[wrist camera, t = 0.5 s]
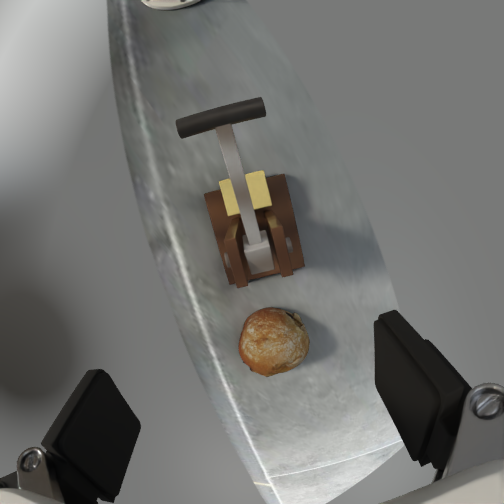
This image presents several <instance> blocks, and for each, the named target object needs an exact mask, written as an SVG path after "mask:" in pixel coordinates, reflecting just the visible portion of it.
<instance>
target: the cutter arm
mask: <svg viewBox="0 0 504 504" xmlns="http://www.w3.org/2000/svg"><path fill="white" fill-rule="evenodd" d="M265 116H266V110H265V106H264V102H263V100H262V98H261V97H259V98H254V99H250V100H245V101H241V102H237V103H233V104H229V105H225V106H221V107H217V108H214V109H210V110H207V111H203V112H200V113H197V114H193V115H190V116H187V117H184V118H181V119H177V120H176V127H177V131H178V134H179V136H180V138H181V139H183V138H186V137H189V136H192V135H196V134H199V133H203V132H206V131H209V130H213V129H215V130H216V133H217V136H218V140H219V143H220V146H221V150H222V153H223V157H224V160H225V163H226V167H227V170H228V174H229V177H230V180H231V184H232V187H233V190H234V194H235V197H236V201H237V204H238V207H239V211H240V214H241V218H242V221H243V224H244V228H245V231H246V234H247V235H243V236H242V239H243V246H244V253H245V256H246V259H247V262H248V265H249V268H250V272H251V274H252V275H253V274H257V273H261V272H265V271H270V270H274V269H275V266H274V261H273V257H272V253H271V249H270V245H269V241H268V237H267V233H266V230H263V231H259V227H258V223H257V219H256V216H255V212H254V208H253V204H252V200H251V196H250V193H249V189H248V185H247V181H246V177H245V174H244V170H243V166H242V162H241V159H240V155H239V151H238V147H237V144H236V140H235V136H234V133H233V129H232V124H236V123H240V122H244V121H248V120H252V119H256V118H261V117H265Z"/></svg>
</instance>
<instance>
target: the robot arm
mask: <svg viewBox="0 0 504 504" xmlns="http://www.w3.org/2000/svg"><path fill="white" fill-rule="evenodd" d="M141 1H142V2H143V3H144V4H145V5H147V6H149V7H151V8H154V9H160V10H172V9H179V8H183V7H186V6H189V5H192V4H195V3H197V2H199V1H201V0H141ZM374 344H375V385H376V388H377V391H378V393H379V395H380V396H381V398H382V400H383V402H384V404H385V406H386V408H387V410H388V412H389V414H390V416H391V418H392V420H393V422H394V424H395V426H396V428H397V430H398V432H399V434H400V436H401V438H402V440H403V442H404V444H405V446H406V448H407V450H408V452H409V455H410V457H411V458H412V460H413V461H417V460H418V461H419V463H420V465H421V467H422V466H424V465H426V464H428V463H430V462H431V463H432V465H433V467H434V468H435V469H437V470H436V472H435V475H434V478H433V480H432V483H431V484H429V485H427V486H425V487H422V488H419V489H417V490H414V491H412V492H409V493H407V494H405V495H402V496H399V497H396V498H394V499H392V500H388V501H386V502H383V503H380V504H504V387H503V386H501V385H499V384H495V383H484V384H481V385H478V386H476V387H474V388H473V389H472V388H471V387H470V386H469V384H468V383H467V382H466V381H465V380H464V379H463V377H462V376H461V375H460V374H459V373H458V372H457V370H456V369H455V368H454V367H453V366H452V365H451V364H450V363H449V362H448V360H447V359H446V358H445V357H444V356H443V355H442V354H441V352H440V351H439V350H438V349H437V348H436V347H435V346H434V345H433V344H432V343H431V342H430V341H429V340H426V339H425V340H424V339H423V338H422V337H421V336H420V335H419V334H418V333H417V332H416V331H415V330H414V328H413V327H412V326H411V325H410V324H409V323H408V322H407V321H406V320H405V319H404V318H403V317H402V316H401V314H400V313H399V312H398V311H396V310H392V311H390V312H387V313H383V314H380V315H379V317H378V320H376V321H374ZM140 429H141V425H140V421H139V420H138V418H137V417H136V416H135V414H134V413H133V411H132V410H131V408H130V407H129V405H128V404H127V402H126V401H125V399H124V398H123V396H122V395H121V393H120V392H119V390H118V388H117V387H116V385H115V384H114V382H113V380H112V379H111V377H110V376H109V374H108V373H106V372H105V371H104V370H102V369H96V370H88V371H87V372H86V374H85V375H84V377H83V378H82V380H81V381H80V383H79V384H78V386H77V387H76V388H75V390H74V392H73V393H72V395H71V396H70V398H69V399H68V401H67V402H66V404H65V405H64V407H63V408H62V410H61V411H60V413H59V415H58V416H57V418H56V419H55V421H54V423H53V424H52V426H51V427H50V429H49V431H48V432H47V434H46V435H45V437H44V439H43V440H42V442H41V445H42V446H43V447H44V448H45V449H46V450H47V451H46V453H44V452H43V451H42V450H41V448H38V447H31V448H28V449H26V450H25V451H24V452H22V453H21V455H20V456H19V458H18V461H17V471H16V472H13V473H11V474H9V475H7V476H5V477H2V478H0V504H98V502H97V498H100V499H101V500H102V501H107V502H112V503H114V500H115V497H116V496H117V495H118V494H119V492H120V488H121V485H122V482H123V479H124V476H125V473H126V470H127V467H128V464H129V461H130V458H131V455H132V452H133V449H134V446H135V444H136V441H137V438H138V435H139V432H140Z"/></svg>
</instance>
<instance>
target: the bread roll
mask: <svg viewBox="0 0 504 504" xmlns="http://www.w3.org/2000/svg"><path fill="white" fill-rule="evenodd" d="M309 343H310V340H309V337H308V333H307V331H306V329H305V327H304V324H302V322H301V318H300V316H299V315H298V314H296V313H293V314H291V313H290V312H287V311H285V310H281V309H278V308H273V307H268V308H264V309H261V310H258V311H256V312H255V313H253V314H252V315H250V316H249V317H248V318H247V320H246V322H245V324H244V327H243V330H242V332H241V337H240V341H239V353H240V356H241V358H242V360H243V362H244V363H246V364H247V365H248V366H249V367H250V370H251V371H252V372H256V373H259V374H261V375H264V376H266V377H269V376H272V375H275V374H278V373H283V372H287V371H288V370H291V369H293V368H295V367H296V366H298V365H299V364H300V363H301V362H302V361H303V360H304V359H305V357H306V355H307V353H308V350H309Z"/></svg>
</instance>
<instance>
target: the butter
mask: <svg viewBox="0 0 504 504" xmlns="http://www.w3.org/2000/svg"><path fill="white" fill-rule="evenodd" d="M245 177H246V181H247V185H248V189H249V193H250V196H251V200H252V204H253V208H254V210H255V209H259V208H263V207H267V206H271V205H272V202H271V198H270V194H269V190H268V186H267V182H266V178H265V174H264V171H263V170H262V171H258V172H253V173H249V174H245ZM219 184H220V188H221V192H222V195H223V199H224V203H225V207H226V210H227V214H228V216H231V215H235V214H239V213H240V211H239V207H238V204H237V201H236V197H235V194H234V190H233V187H232V184H231V180H230V179H226V180H222V181H219Z"/></svg>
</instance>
